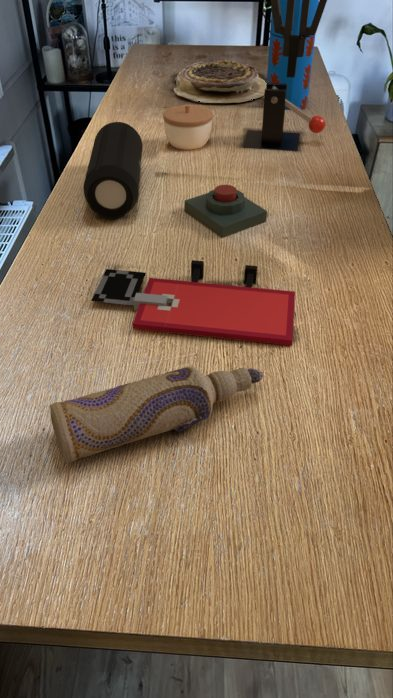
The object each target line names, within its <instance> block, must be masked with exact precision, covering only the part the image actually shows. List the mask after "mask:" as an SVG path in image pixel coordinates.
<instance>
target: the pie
mask: <svg viewBox="0 0 393 698" xmlns="http://www.w3.org/2000/svg"><path fill="white" fill-rule="evenodd" d="M174 80H175V84H176V86H175V87H174V88H173V89H172V90H173V92H174V93H175V95H176V96H177V97H182V98H185V99H186V100H189V101H192V102H195V103H196V102H197V103H200V104H201V103H202V104H207V103H208V104H209V103H210V104H231V103H243V102H248V101H253V99H255V100H256V99H259V98H261V97H263V96H264V93H265V89H266V84H267V83H266V82H267V81H266V80H264V79H263V78H261V77H259V70H257V69H256V67H255V66H252V65H250V64H247V63H241V62H240V61H234V60H230V59H227V60H226V59H220V60H215V61H209V62H204V61H199V62H194V63H192V64H188V65H186V66H185V67H184V68H183V69H181V71H180V72H178V74H177V76H176V77H174ZM265 81H266V82H265ZM251 99H252V100H251ZM198 101H200V102H198Z"/></svg>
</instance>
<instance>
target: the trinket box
mask: <svg viewBox="0 0 393 698" xmlns="http://www.w3.org/2000/svg"><path fill="white" fill-rule="evenodd" d="M162 118H163V119H162V120H163V128H164V133H165V137H166V139H167V141H168V142H169V144H170V145H171V146H172V147H173V148H175V149H179V150H197V149H200V148H203V147H204V146H205V145H206V144H207V143H208V141H209V139H210V137H211V133H212V126H213V111H212V110H211V109H210V108H208V107H206V106H203V105H198V104H180V105H174V106H171V107H168V108H167V109H165V110H164V111H163V113H162Z"/></svg>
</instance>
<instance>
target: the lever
mask: <svg viewBox="0 0 393 698" xmlns="http://www.w3.org/2000/svg"><path fill="white" fill-rule="evenodd" d="M272 89H278V88H277V87H275V86H273V87H272ZM285 106H286V107H287V108H289V109H290V110H289V111H292V112H293V113H294V114H295V115H297V116H299V117H300V118H302V119H303V120H304V121H306V122H307V123H308V129H309V131H310V132H311V133H314V134H320V133H322V132H323V131H324V130H325V128H326V120H325V118H324V117H323V116H321V115H314V116H312V115H309V114H308V113H307V112H305V111H304V110H301V109H299V108H298V107H297V106H295V105H294V104H292V103H291V102H289V101H288V100H287V99H285Z"/></svg>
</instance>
